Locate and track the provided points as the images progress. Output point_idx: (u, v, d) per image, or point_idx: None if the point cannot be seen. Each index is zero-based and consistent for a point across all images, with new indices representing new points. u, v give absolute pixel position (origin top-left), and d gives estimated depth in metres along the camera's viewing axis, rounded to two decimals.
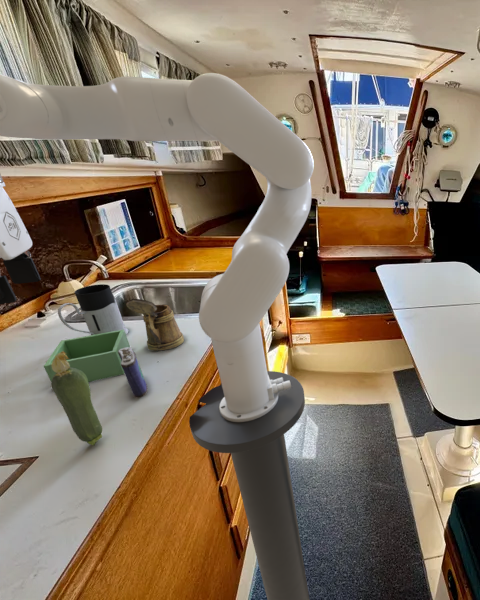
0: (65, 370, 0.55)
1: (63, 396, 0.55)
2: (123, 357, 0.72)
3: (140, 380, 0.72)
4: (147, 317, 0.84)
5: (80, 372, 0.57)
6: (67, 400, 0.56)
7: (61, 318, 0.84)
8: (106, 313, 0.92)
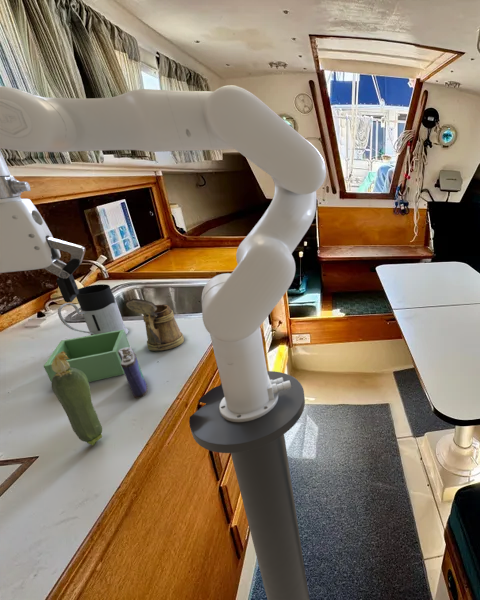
0: (65, 370, 0.55)
1: (63, 396, 0.55)
2: (123, 357, 0.72)
3: (140, 380, 0.72)
4: (147, 317, 0.84)
5: (80, 372, 0.57)
6: (67, 400, 0.56)
7: (61, 318, 0.84)
8: (106, 313, 0.92)
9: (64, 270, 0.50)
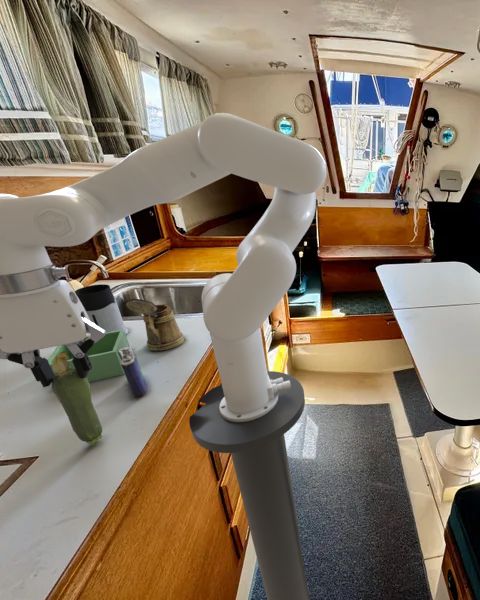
0: (65, 370, 0.55)
1: (63, 396, 0.55)
2: (123, 357, 0.72)
3: (140, 380, 0.72)
4: (147, 317, 0.84)
5: None
6: (67, 400, 0.56)
7: None
8: (106, 313, 0.92)
9: (82, 351, 0.55)
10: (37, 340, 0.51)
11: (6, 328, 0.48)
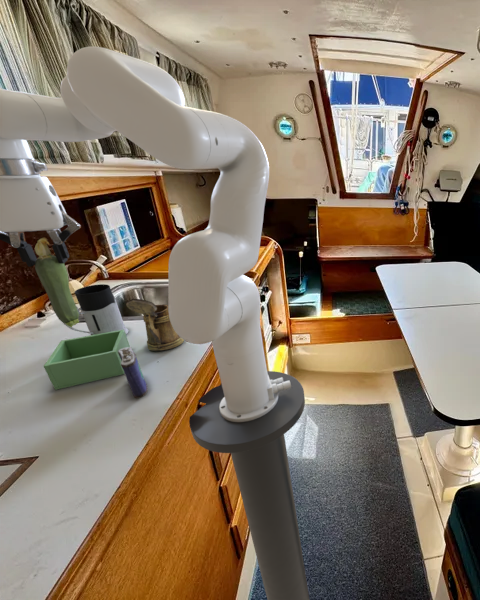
0: (46, 254, 0.66)
1: (44, 276, 0.66)
2: (123, 357, 0.72)
3: (140, 380, 0.72)
4: (147, 317, 0.84)
5: None
6: (48, 281, 0.67)
7: None
8: (106, 313, 0.92)
9: (60, 239, 0.66)
10: (22, 222, 0.62)
11: None
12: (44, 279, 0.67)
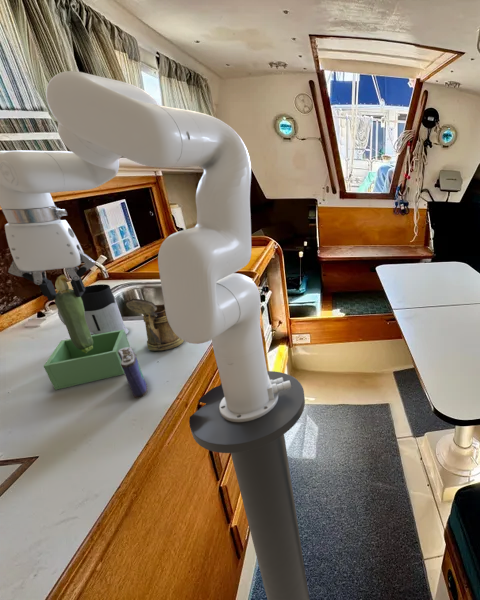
0: (65, 289, 0.73)
1: (63, 309, 0.73)
2: (123, 357, 0.72)
3: (140, 380, 0.72)
4: (147, 317, 0.84)
5: None
6: (66, 313, 0.74)
7: (61, 318, 0.84)
8: (106, 313, 0.92)
9: (77, 275, 0.73)
10: (44, 262, 0.69)
11: (22, 250, 0.66)
12: (63, 311, 0.74)
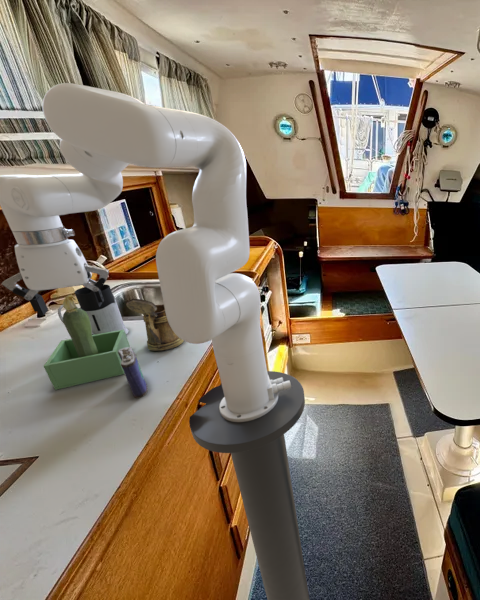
0: (73, 308, 0.75)
1: (71, 328, 0.75)
2: (123, 357, 0.72)
3: (140, 380, 0.72)
4: (147, 317, 0.84)
5: (83, 311, 0.77)
6: (74, 331, 0.76)
7: (61, 318, 0.84)
8: (106, 313, 0.92)
9: (95, 286, 0.75)
10: (53, 281, 0.71)
11: (31, 271, 0.68)
12: (70, 330, 0.75)
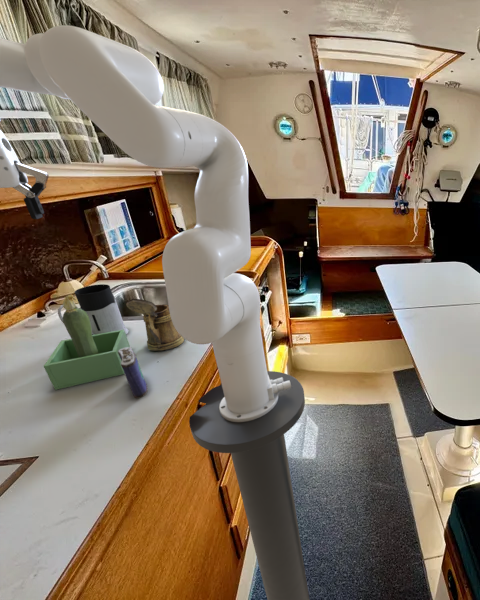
0: (72, 308, 0.75)
1: (71, 328, 0.75)
2: (123, 357, 0.72)
3: (140, 380, 0.72)
4: (147, 317, 0.84)
5: (83, 311, 0.77)
6: (74, 331, 0.76)
7: (61, 318, 0.84)
8: (106, 313, 0.92)
9: (30, 191, 0.61)
10: None
11: None
12: (70, 330, 0.75)
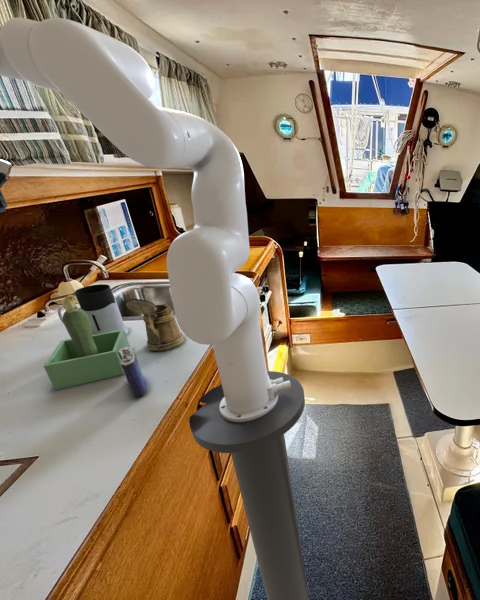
0: (72, 308, 0.75)
1: (71, 328, 0.75)
2: (123, 357, 0.72)
3: (140, 380, 0.72)
4: (147, 317, 0.84)
5: (83, 311, 0.77)
6: (74, 331, 0.76)
7: (61, 318, 0.84)
8: (106, 313, 0.92)
9: None
10: None
11: None
12: (70, 330, 0.75)
